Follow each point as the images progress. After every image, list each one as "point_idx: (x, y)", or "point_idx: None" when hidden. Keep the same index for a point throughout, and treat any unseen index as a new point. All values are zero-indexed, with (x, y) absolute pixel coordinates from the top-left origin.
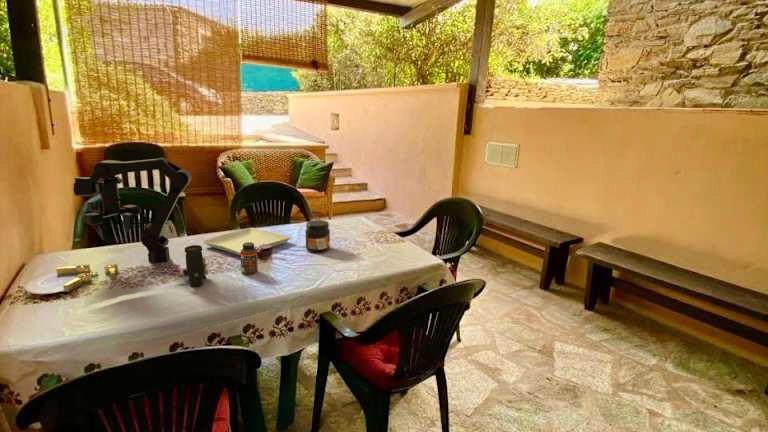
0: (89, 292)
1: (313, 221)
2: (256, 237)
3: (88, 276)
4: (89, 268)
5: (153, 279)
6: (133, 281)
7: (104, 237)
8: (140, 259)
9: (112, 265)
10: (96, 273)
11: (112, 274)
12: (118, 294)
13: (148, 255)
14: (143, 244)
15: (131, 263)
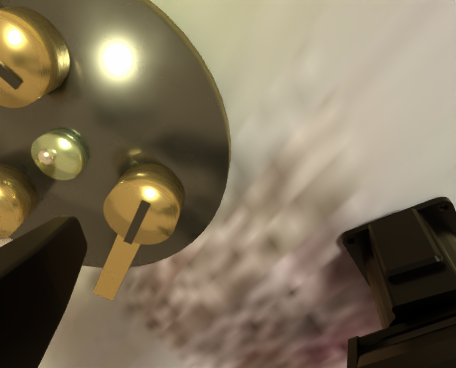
0: None
1: None
2: None
3: (2, 237)
4: (46, 93)
5: (238, 336)
6: (182, 298)
7: (66, 285)
8: (444, 83)
9: (149, 217)
10: (67, 179)
11: (102, 292)
12: (93, 330)
13: (381, 266)
14: (360, 366)
15: (347, 101)
